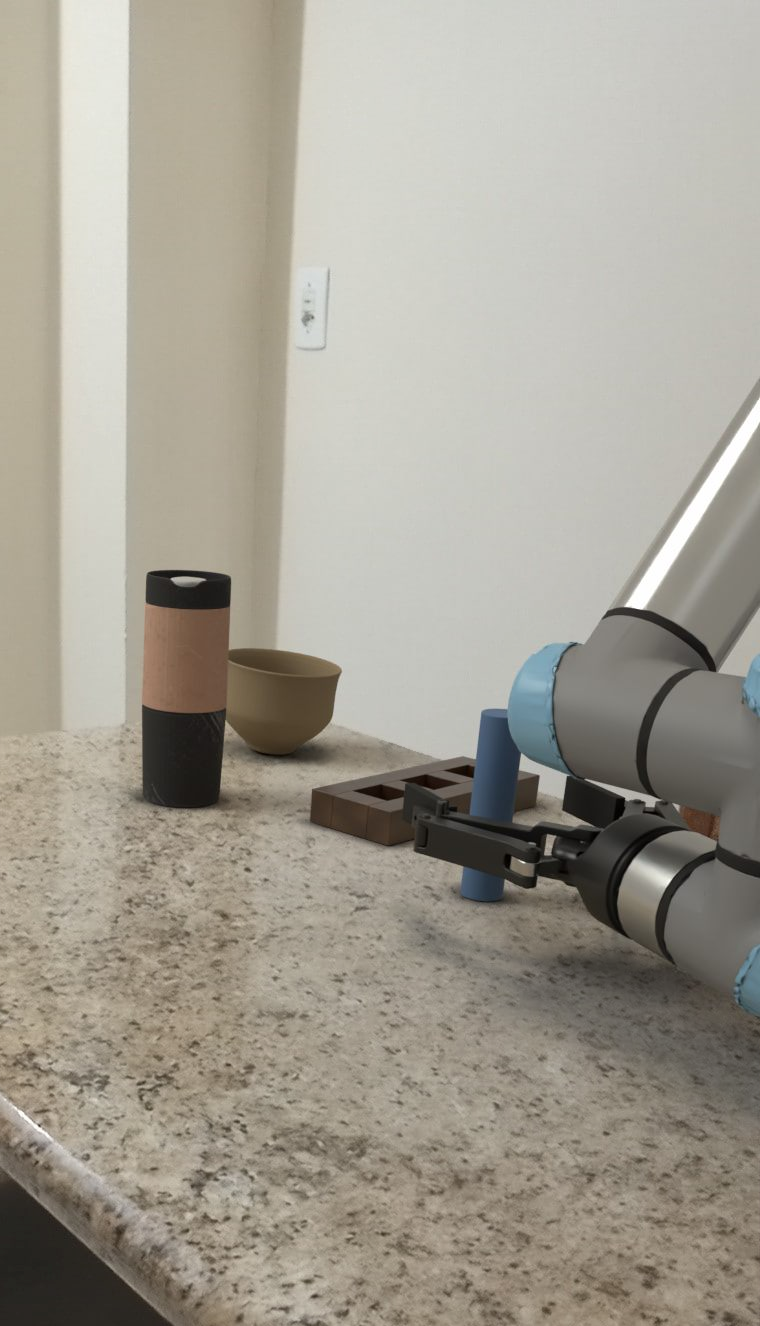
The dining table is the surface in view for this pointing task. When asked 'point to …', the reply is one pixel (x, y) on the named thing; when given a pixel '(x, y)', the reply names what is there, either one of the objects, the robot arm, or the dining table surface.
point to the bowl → (279, 697)
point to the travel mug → (184, 686)
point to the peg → (492, 793)
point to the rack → (402, 798)
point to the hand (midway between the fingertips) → (489, 796)
